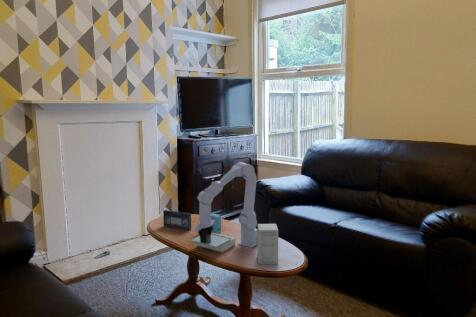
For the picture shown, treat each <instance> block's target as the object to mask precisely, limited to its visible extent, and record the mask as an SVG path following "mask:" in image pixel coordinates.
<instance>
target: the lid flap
mask: <svg viewBox="0 0 476 317" xmlns="http://www.w3.org/2000/svg"><path fill="white" fill-rule="evenodd" d="M229 241H231V239H228V238H224V237H220V236H216V235H212V234H211V235H209V234H207V235H206V242H205V243H203V242H201V238H200V235H197V236H196V237H193V238H191V239H190V242H191V243H195V244H197V243H198V244H202V245H206V246H210V247H213V248H218V247H220V246H222V245H224V244H225V243H227V242H229Z"/></svg>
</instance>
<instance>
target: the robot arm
mask: <svg viewBox="0 0 476 317" xmlns="http://www.w3.org/2000/svg"><path fill="white" fill-rule="evenodd" d="M237 177H238V178H239V177H240V178H241V177H243V179H245V186H244V187H245V190H244V197H243V198H244V199H243V209H242V210H241V211H240V214H239V217H238V222H239V224H240V241H239V242H237V244H238V245H241V246H244V247H247V248H248V247H249V248H254V247H255V246H256V247H257V228H256V227H257V225H258V220H257V214H256V211H255V201H256V200H255V199H256V190H257V189H256V188H257V179H258V178H257V177H258V176H257V174H256V172H255V167H254V166H253V165H251V164H250V163H245V162H243V161H238V162H236V163H235V164H234V165H233V166H231V168H230V169H229V170H228V172H226V173H225V174H224V175H223V176H222V177H221V178H220V180H215V181H212V182H211V184H210V185H209V186H208V187H206V188H204V190H202V191H200V192H199V193H198V195H197V197H196V199H197V200H198V202H199V209H198V210H199V212H198V215H199V216H198V221H199V220H200V222H198V223H197V225H196V226H195V227H194V232H196V233H197V234H198V236H200V238H201V242H203V243H205V242H206V235H207V234H209V235H211V232H212V230H213V229H214V227H213V226H211V225H213V224H215V220H211V213H212V203H213V200H214V198H215V197H217V195H218V194H219V193H221V192H222V191H223V190H224V186H225V185H226V184H228V183H229V182H230V181H232V180H233V179H235V178H237Z"/></svg>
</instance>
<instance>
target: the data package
mask: <svg viewBox="0 0 476 317" xmlns="http://www.w3.org/2000/svg"><path fill="white" fill-rule="evenodd" d="M211 220H215V224H213V225H211V226H213V227H214V229H213V230H212V232H211V233H215V234H220V235H222V234H221V233H222V217H221V214H217V213H212V212H211ZM198 221H199V222H200V220H199V219H198ZM199 222H198V223H199Z"/></svg>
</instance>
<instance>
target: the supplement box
mask: <svg viewBox="0 0 476 317" xmlns="http://www.w3.org/2000/svg"><path fill="white" fill-rule="evenodd" d="M256 227H257V228H256V229H257V245H256V247H257V250H256V252H257V254H256V255H257V256H256V257H257V262H258V265H275V264H276V265H278V264H279V229H278V225H277V223H257V225H256Z"/></svg>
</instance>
